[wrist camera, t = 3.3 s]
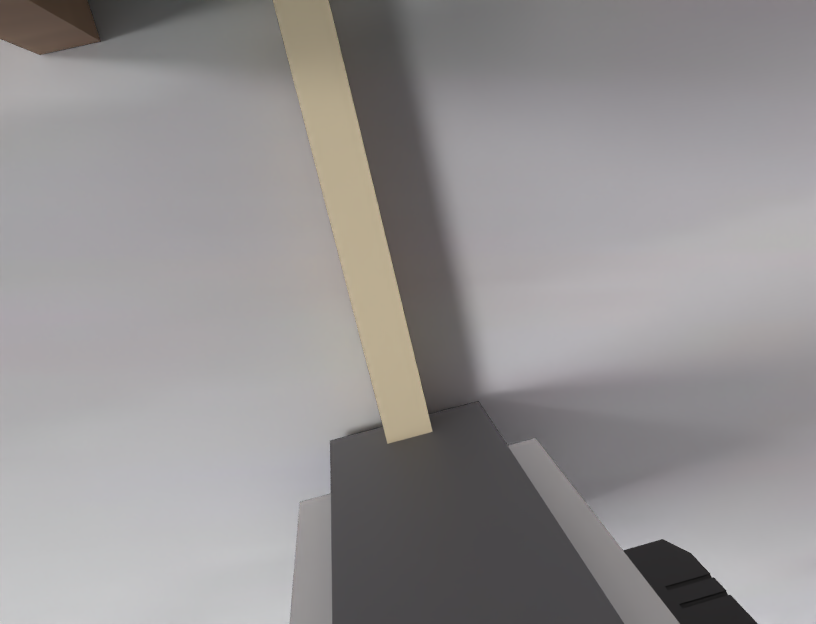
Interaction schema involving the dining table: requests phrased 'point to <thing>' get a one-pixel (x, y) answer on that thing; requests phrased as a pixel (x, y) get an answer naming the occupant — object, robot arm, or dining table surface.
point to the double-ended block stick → (417, 426)
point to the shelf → (47, 24)
